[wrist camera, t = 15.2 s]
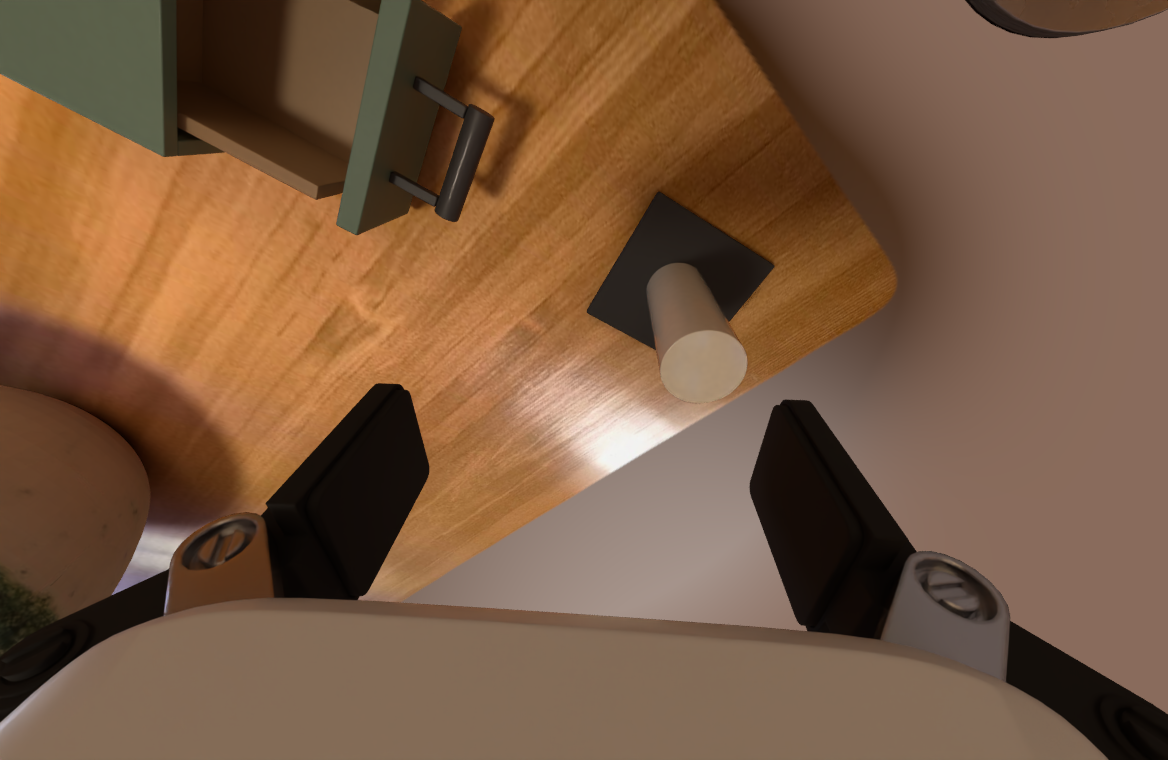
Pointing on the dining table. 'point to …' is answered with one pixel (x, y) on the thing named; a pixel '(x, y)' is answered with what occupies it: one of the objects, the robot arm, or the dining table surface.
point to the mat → (675, 240)
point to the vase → (62, 511)
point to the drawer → (329, 98)
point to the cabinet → (102, 64)
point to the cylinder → (692, 336)
